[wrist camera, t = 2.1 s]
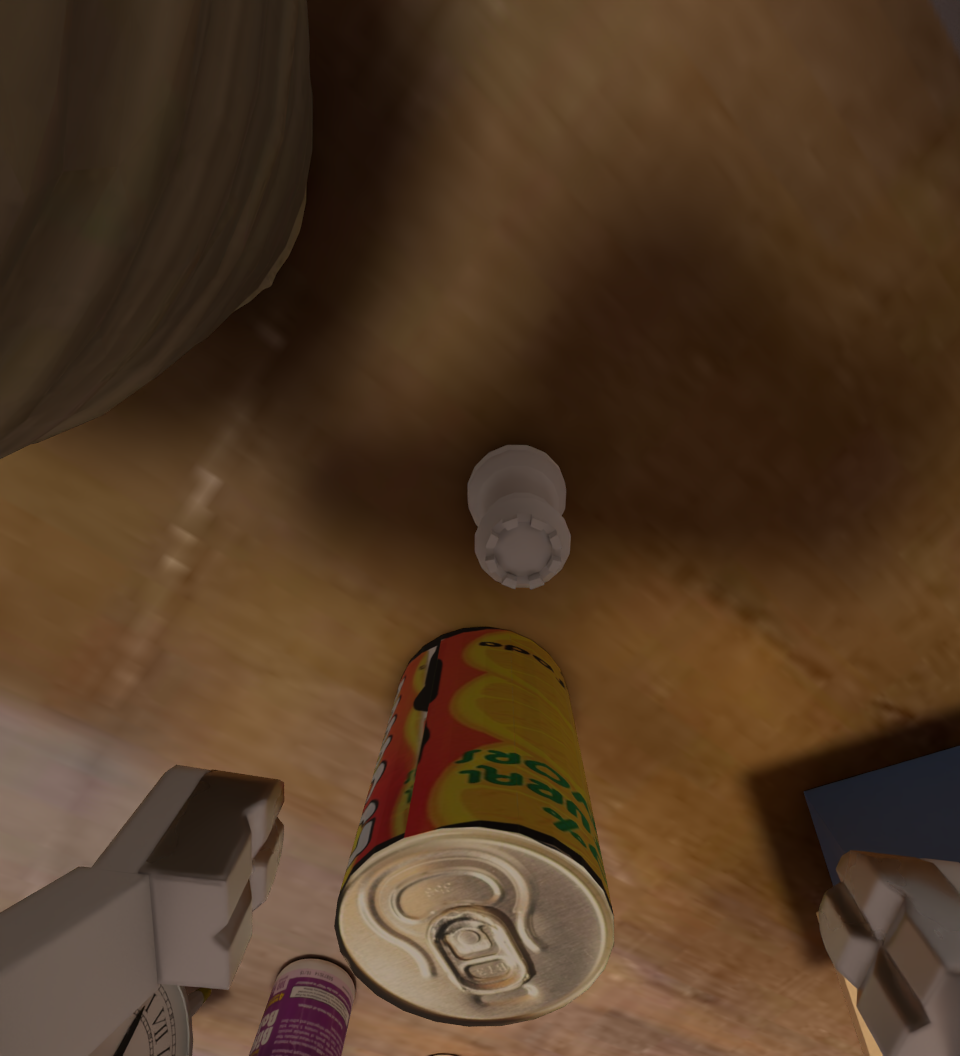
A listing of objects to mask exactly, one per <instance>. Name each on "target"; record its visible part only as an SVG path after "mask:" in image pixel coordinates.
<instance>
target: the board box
mask: <svg viewBox="0 0 960 1056" xmlns="http://www.w3.org/2000/svg"><path fill="white" fill-rule="evenodd" d="M804 795H805V798H806V801H807V805H808V808H809V811H810V814H811V817H812V820H813V823H814V827H815V830H816V833H817V836H818V839H819V842H820V846H821V849H822V852H823V855H824V858H825V861H826V864H827V868H828V871H829V874H830V877H831V880H832V883H833V886H835V885H836V884H838V883H839V882H841V881H840V878H839V876H838V874H837V871H836V867H837V865H838V863H839V861H840V859H841V857H842V855H844V854H846V853H847V852H849V851H850V850H856V851H865V852H874V853H882V854H891V855H900V856H909V857H916V858H926V859H935V860H944V861H953V862H959V863H960V746H957V747H953V748H950V749H947V750H943V751H940V752H936V753H933V754H930V755H926V756H923V757H919V758H916V759H913V760H909V761H906V762H902V763H899V764H896V765H892V766H889V767H885V768H882V769H879V770H875V771H872V772H868V773H865V774H862V775H858V776H855V777H851V778H848V779H845V780H841V781H838V782H834V783H831V784H827V785H824V786H821V787H817V788H814V789H810V790H807V791H804ZM816 915H817V918H818V921H819V911H818V912H816ZM832 963H833V962H832ZM833 965H834V964H833ZM834 968H835V966H834ZM835 971H836V974H837V977H838V980H839V983H840V986H841V989H842V992H843V995H844V998H845V1001H846V1004H847V1007H848V1010H849V1013H850V1016H851V1019H852V1022H853V1025H854V1028H855V1031H856V1034H857V1037H858V1040H859V1043H860V1046H861V1049H862V1052H863V1055H864V1056H883V1054H882V1053H881V1051H880V1049H879V1047H878V1045H877V1043H876V1042H875V1040H874V1038H873V1036H872V1034H871V1032H870V1031H869V1029H868V1027H867V1025H866V1023H865V1022H864V1020H863V1018H862V1016H861V1014H860V1012H859V1011H858V1009H857V1007H856V1005H857V988H856V987H855V986H853V985H852V984H851V983H850V982H849V981H848V980H847V979H846V978H845V977H844V976H843V975H842V974H841V973H839V972H838V971H837V970H836V968H835Z"/></svg>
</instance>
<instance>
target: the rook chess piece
mask: <svg viewBox="0 0 960 1056" xmlns="http://www.w3.org/2000/svg"><path fill="white" fill-rule="evenodd" d="M565 486H566V484H565V481H564V479H563V476H562V473H561V471H560V468H559V466H558V465H557V464H556V463H555V462H554V461H553V460H552V459H551V458H550V457H549V456H548V455H547V454H546V453H545V452H543V451H540V450H538V449H536V448H533V447H531V446H528V445H506V446H503V447H501V448H499V449H496V450H494V451H491V452H489V453H488V454H487V455H486V456H485V457H484V458H483V459H482V460H481V461H480V462H479V463H478V464H477V465H476V466H475V467H474V470H473V472H472V474H471V477H470V479H469V482H468V508H469V510H470V512H471V515H472V517H473V519H474V522H475V524H476V525H477V526H478V528H477V531H476V533H475V554H476V556H477V558H478V560H479V563H480V565H481V567H482V569H483V570H484V571H485V572H486V573H487V574H489V575H490V576H491V577H492V578H493V579H494V580H495V581H497V582H500V583H501V584H503V585H505V586H508V587H510V588H513V589H515V588H516V587H526V588H530V590H531V589H534V588H536V587H539V586H542V585H544V583H545V582H547V581H549V580H550V579H551V578H552V577H553V576H555V575H556V574H557V573H558V572H559V571H560V570H562V568H563V566H564V564H565V562H566V560H567V558H568V556H569V554H570V540H571V535H570V532H569V530H568V527H567V524H566V522H565V519H564V518H563V517H562V514H563V512H564V510H565V505H566V487H565Z"/></svg>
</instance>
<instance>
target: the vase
mask: <svg viewBox="0 0 960 1056" xmlns="http://www.w3.org/2000/svg"><path fill="white" fill-rule="evenodd" d="M309 50H310V43H309V26H308V10H307V0H0V459H1V458H3V457H5V456H7V455H9V454H11V453H13V452H15V451H18V450H20V449H22V448H24V447H26V446H28V445H30V444H34V443H38V442H41V441H43V440H45V439H48V438H50V437H52V436H55V435H57V434H59V433H62V432H64V431H67V430H69V429H71V428H74V427H76V426H78V425H81V424H83V423H85V422H88V421H90V420H92V419H95V418H97V417H100V416H102V415H103V414H105V413H106V412H108V411H109V410H110V409H112V408H113V407H115V406H116V405H118V404H119V403H120V402H122V401H123V400H125V399H126V398H127V397H129V396H130V395H132V394H133V393H134V392H136V391H137V390H139V389H140V388H142V387H143V386H144V385H146V384H147V383H149V382H150V381H151V380H153V379H155V378H156V377H157V376H159V375H160V374H161V373H162V372H164V371H165V370H166V369H167V368H168V367H170V366H171V365H172V364H173V363H174V362H176V361H177V360H178V359H179V358H181V357H182V356H183V355H184V354H185V353H187V352H188V351H189V350H190V349H192V348H193V347H194V346H195V345H197V344H199V343H200V342H202V341H203V340H205V339H207V338H208V337H209V336H210V335H211V334H212V333H213V332H214V331H215V330H216V329H217V328H218V327H219V326H220V325H221V324H222V323H223V322H224V321H225V320H226V319H227V318H228V317H229V316H230V315H231V314H232V313H233V312H234V311H236V310H237V309H239V308H240V307H242V306H244V305H245V304H247V303H248V302H250V301H251V300H252V299H253V298H254V297H256V296H257V295H258V294H259V293H260V292H261V291H262V290H263V289H265V288H268V287H271V285H272V283H273V281H274V278H275V276H276V274H277V272H278V271H279V269H280V268H281V266H282V265H283V264H284V262H285V261H286V259H287V258H288V257H289V254H290V252H291V250H292V248H293V246H294V243H295V241H296V239H297V237H298V234H299V232H300V229H301V224H302V219H303V214H304V209H305V205H306V184H307V178H308V172H309V167H310V161H311V155H312V147H313V92H312V86H311V80H310V63H309Z"/></svg>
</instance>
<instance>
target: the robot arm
mask: <svg viewBox="0 0 960 1056" xmlns="http://www.w3.org/2000/svg"><path fill="white" fill-rule="evenodd" d="M283 803H284V782H282V781H281V780H278V779H271V778H264V777H258V776H251V775H245V774H238V773H231V772H225V771H218V770H206V769H200V768H193V767H187V766H180V765H176V766H174V767H173V768H171V769H170V770H168V771H167V772H165V773H164V775H163V776H162V777H161V778H160V780H159V781H158V782H157V784H156V785H155V786H154V787H153V789H152V790H151V791H150V793H149V794H148V795H147V796H146V798H145V799H144V800H143V802H142V803H141V804H140V805H139V807H138V808H137V809H136V811H135V812H134V813H133V814H132V816H131V817H130V818H129V820H128V821H127V822H126V823H125V825H124V826H123V827H122V829H121V830H120V831H119V832H118V834H117V835H116V836H115V838H114V839H113V840H112V842H111V843H110V844H109V845H108V847H107V848H106V849H105V851H104V852H103V853H102V854H101V856H100V857H99V858H98V860H97V861H96V862H95V863H94V865H93V866H92V867H91V868H89V867H78V868H76V869H74V870H72V871H71V872H69V873H67V874H66V875H64V876H62V877H60V878H59V879H57V880H55V881H54V882H52V883H50V884H49V885H47V886H45V887H43V888H42V889H40V890H38V891H37V892H35V893H33V894H31V895H30V896H28V897H26V898H25V899H23V900H21V901H20V902H18V903H16V904H14V905H13V906H11V907H9V908H8V909H6V910H4V911H2V912H1V913H0V1056H88V1055H90V1054H91V1053H92V1052H93V1051H94V1050H95V1049H96V1048H97V1047H98V1046H99V1045H100V1044H101V1043H102V1042H103V1041H104V1040H105V1039H106V1038H107V1037H108V1036H109V1035H111V1034H112V1033H113V1032H114V1031H115V1030H116V1029H117V1028H118V1027H119V1026H120V1025H121V1024H122V1023H123V1022H124V1021H125V1020H126V1019H127V1018H128V1017H129V1016H131V1015H132V1014H133V1013H134V1012H135V1011H136V1010H137V1009H138V1008H139V1007H140V1006H141V1005H142V1004H143V1003H144V1002H145V1001H146V1000H147V999H148V998H149V997H150V996H152V995H153V994H154V993H155V992H156V991H157V990H158V984H167V985H179V986H191V987H203V988H214V989H226V990H229V988H230V986H231V983H232V981H233V978H234V976H235V974H236V971H237V969H238V966H239V964H240V962H241V959H242V957H243V955H244V952H245V950H246V947H247V945H248V943H249V940H250V938H251V935H252V912H253V911H254V910H255V909H256V908H257V907H259V906H260V905H261V904H262V903H264V902H265V901H266V899H267V897H268V894H269V892H270V889H271V887H272V884H273V881H274V879H275V875H276V872H277V868H278V864H279V861H280V857H281V852H282V845H283V835H284V825H283V824H282V822H281V821H280V820H279V819H278V817H277V816H278V814H279V812H280V809H281V807H282V805H283ZM836 871H837V874H838V876H839V878H840V881H841V882H839V883H838V884H836V885H835V886H833V887H832V888H830V889H829V890H827V891H826V892H825V894H824V896H823V899H822V902H821V904H820V907H819V909H818V910H819V926H820V933H821V936H822V939H823V943H824V946H825V949H826V951H827V953H828V955H829V957H830V959H831V960H832V962H833V964H834V966H835V968H836V970H837V971H838V972H839V973H841V974H842V975H843V976H844V977H845V978H846V979H847V980H848V981H849V982H850V983H851V984H852V985H853V986H855V987H856V988H857V1005H856V1007H857V1009H858V1011H859V1012H860V1014H861V1016H862V1018H863V1020H864V1022H865V1023H866V1025H867V1027H868V1029H869V1031H870V1032H871V1034H872V1036H873V1038H874V1040H875V1042H876V1043H877V1045H878V1047H879V1049H880V1051H881V1053H882V1054H883V1056H960V863H959V862H953V861H944V860H935V859H926V858H916V857H909V856H900V855H891V854H882V853H874V852H865V851H856V850H850V851H849V852H847V853H846V854H844V855H842V857H841V859H840V861H839V863H838V865H837V867H836Z"/></svg>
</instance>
